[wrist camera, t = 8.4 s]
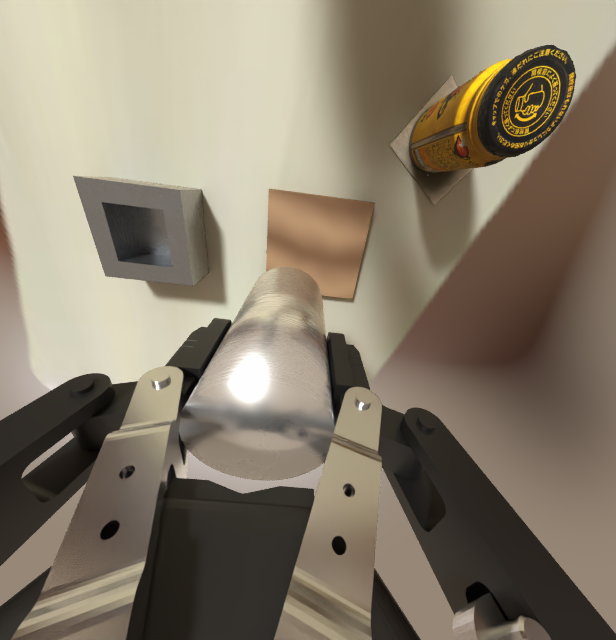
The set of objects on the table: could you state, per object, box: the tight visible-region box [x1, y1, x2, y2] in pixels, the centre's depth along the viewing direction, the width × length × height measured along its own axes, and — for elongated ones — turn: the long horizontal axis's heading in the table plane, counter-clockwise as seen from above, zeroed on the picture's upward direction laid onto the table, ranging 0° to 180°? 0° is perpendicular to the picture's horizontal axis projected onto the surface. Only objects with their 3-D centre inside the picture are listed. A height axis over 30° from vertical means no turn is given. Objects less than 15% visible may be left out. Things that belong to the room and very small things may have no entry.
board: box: [266, 189, 375, 299], centre depth 30 cm, size 12×12×1 cm
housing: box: [73, 176, 209, 286], centre depth 27 cm, size 10×10×5 cm
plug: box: [179, 267, 335, 480], centre depth 12 cm, size 5×5×10 cm
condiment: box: [390, 45, 576, 205], centre depth 20 cm, size 7×8×12 cm
